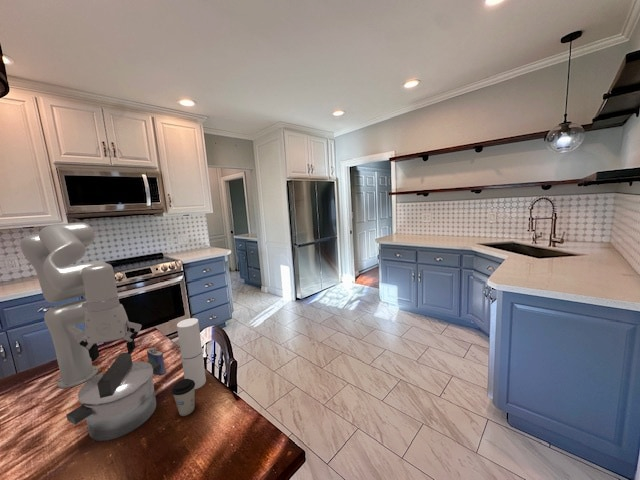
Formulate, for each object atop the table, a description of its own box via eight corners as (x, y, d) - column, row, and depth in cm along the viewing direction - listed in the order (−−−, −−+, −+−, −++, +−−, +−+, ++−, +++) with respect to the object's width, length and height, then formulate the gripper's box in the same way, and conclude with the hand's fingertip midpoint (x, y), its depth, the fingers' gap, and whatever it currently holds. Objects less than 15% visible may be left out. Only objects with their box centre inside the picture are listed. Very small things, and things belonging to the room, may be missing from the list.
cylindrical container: (198, 390, 98) (189, 327, 94) (181, 388, 99) (172, 326, 95) (209, 377, 105) (202, 318, 101) (193, 376, 106) (185, 317, 102)
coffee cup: (193, 399, 94) (190, 373, 92) (201, 409, 89) (197, 382, 87) (172, 410, 89) (168, 384, 87) (179, 422, 84) (174, 394, 82)
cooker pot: (60, 440, 79) (52, 405, 78) (144, 384, 103) (140, 355, 101) (96, 460, 72) (87, 422, 71) (177, 395, 96) (173, 365, 94)
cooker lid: (142, 395, 79) (139, 377, 78) (63, 413, 74) (59, 394, 73) (160, 359, 97) (157, 344, 96) (97, 371, 92) (94, 356, 91)
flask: (167, 372, 109) (163, 348, 108) (159, 376, 107) (155, 352, 105) (154, 366, 114) (150, 343, 112) (147, 370, 111) (143, 347, 110)
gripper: (61, 314, 75) (73, 368, 78) (131, 303, 80) (141, 355, 83) (76, 304, 82) (87, 355, 85) (140, 295, 87) (148, 343, 90)
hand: (113, 355), depth 84 cm, fingers open, 9 cm apart
